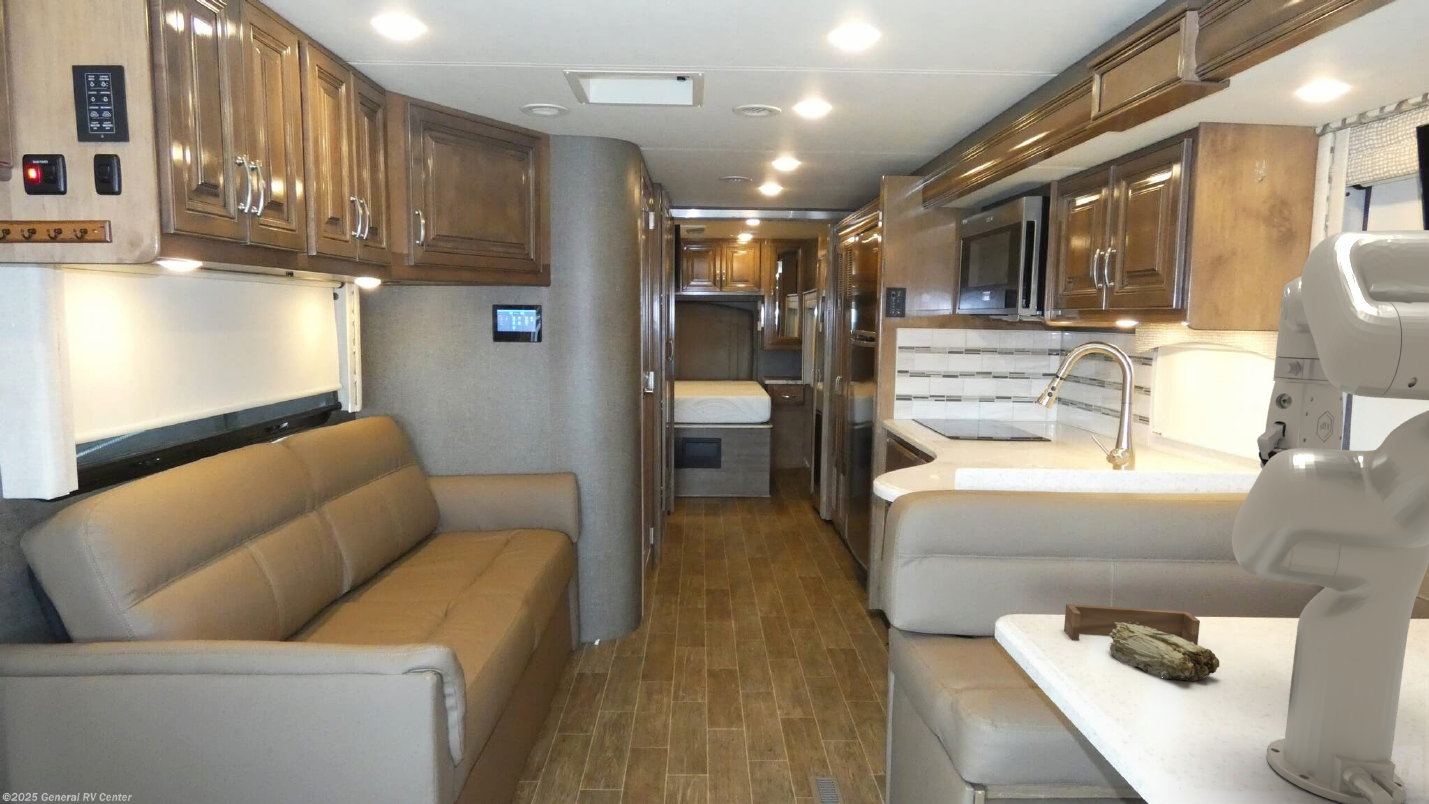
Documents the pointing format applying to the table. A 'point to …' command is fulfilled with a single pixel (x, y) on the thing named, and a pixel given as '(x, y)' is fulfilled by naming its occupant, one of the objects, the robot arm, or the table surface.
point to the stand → (1104, 619)
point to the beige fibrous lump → (1161, 653)
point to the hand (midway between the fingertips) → (1294, 496)
